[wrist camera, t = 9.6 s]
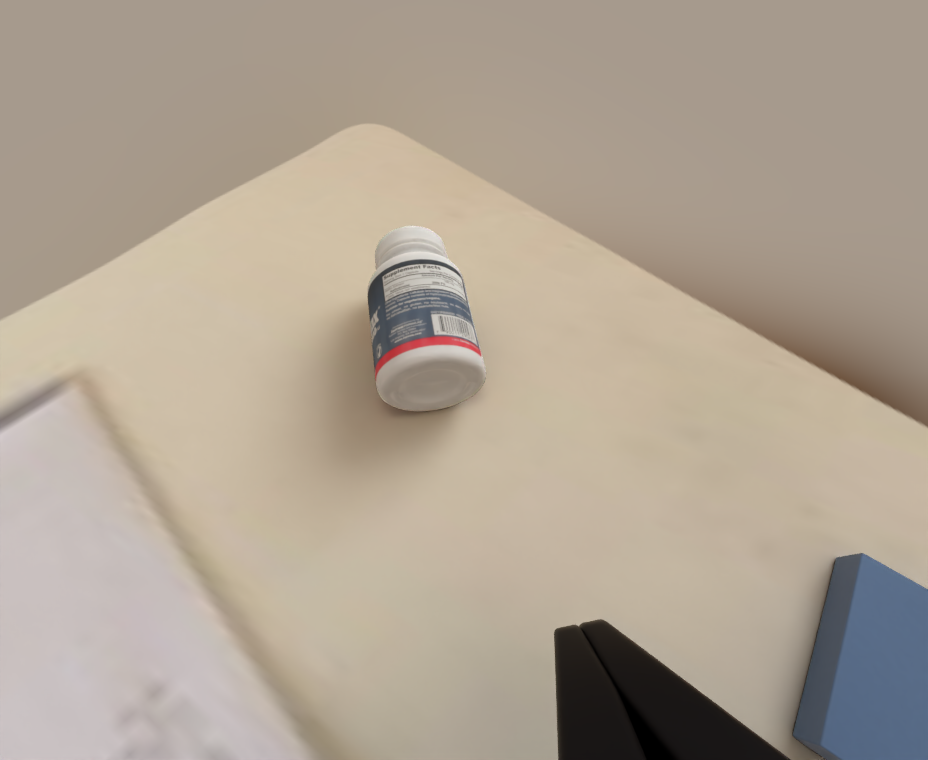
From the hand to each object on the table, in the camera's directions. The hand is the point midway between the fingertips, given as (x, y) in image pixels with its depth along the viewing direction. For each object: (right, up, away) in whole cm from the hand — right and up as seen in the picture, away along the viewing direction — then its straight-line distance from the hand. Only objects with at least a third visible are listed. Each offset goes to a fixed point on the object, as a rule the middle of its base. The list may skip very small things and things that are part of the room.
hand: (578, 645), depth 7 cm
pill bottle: (-3, +4, +13) cm, 14 cm away
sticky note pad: (+16, -8, +10) cm, 20 cm away
